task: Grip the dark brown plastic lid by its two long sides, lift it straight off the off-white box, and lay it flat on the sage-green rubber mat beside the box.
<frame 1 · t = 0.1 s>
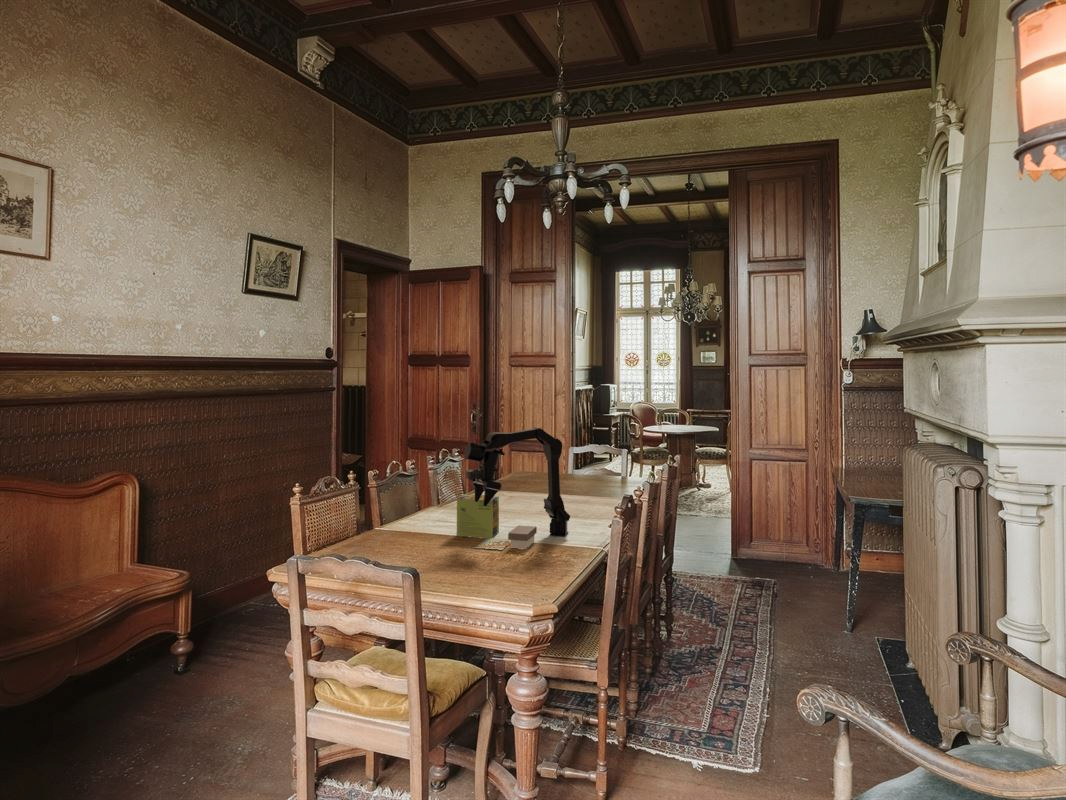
hand: (480, 503, 259), 15 cm above the table, tool pointing down, fingers open, 9 cm apart
protein box: (478, 535, 274), on the table
mat: (495, 544, 257), on the table
box: (522, 545, 257), on the table
lid: (522, 536, 256), point 3 cm above the table, touching box
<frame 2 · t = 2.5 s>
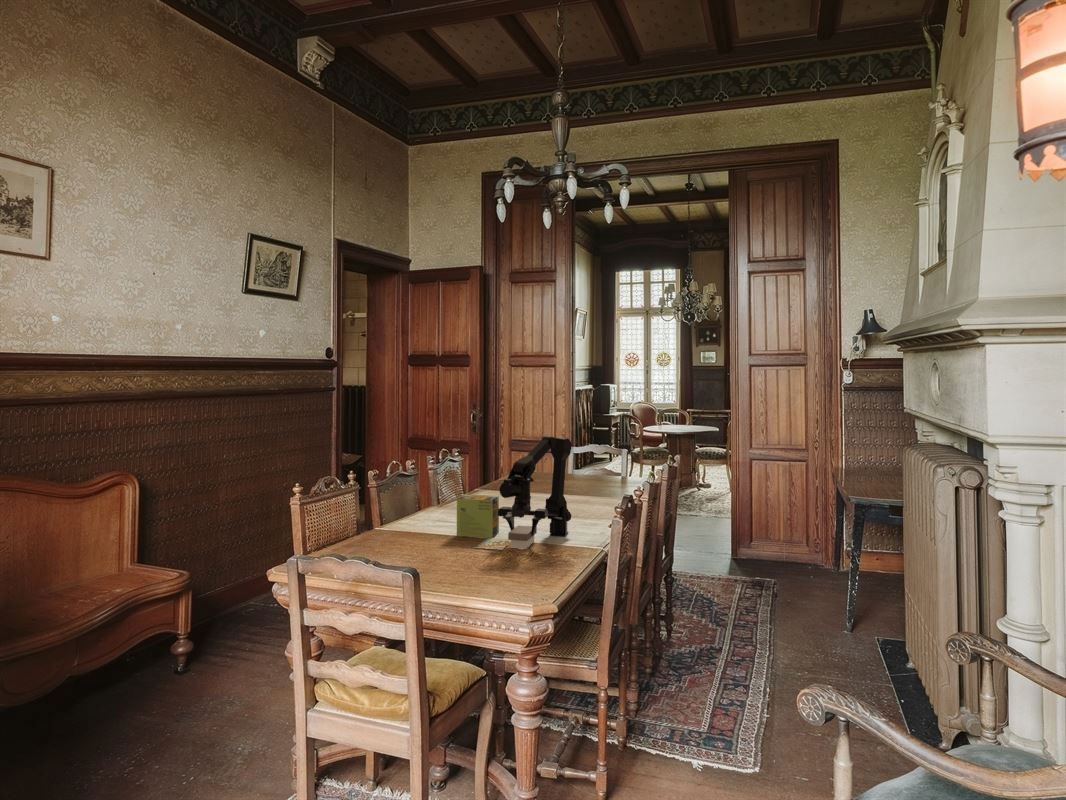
hand: (522, 534, 256), 4 cm above the table, tool pointing down, fingers closed on lid, 7 cm apart
lid: (522, 536, 256), point 3 cm above the table, touching box, gripper
everything else where it was.
when the fingers open (2 cm above the table, at t = 7.8 s): lid drops 2 cm, resting on mat.
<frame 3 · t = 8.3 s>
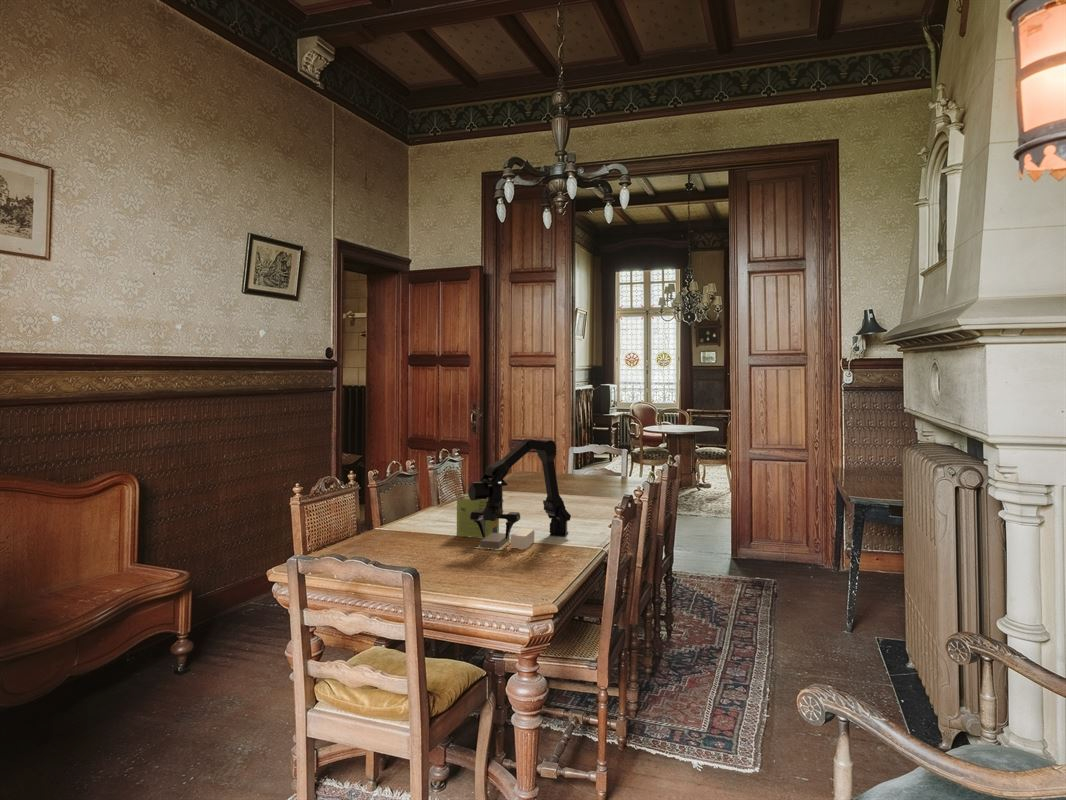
hand: (495, 538, 257), 2 cm above the table, tool pointing down, fingers open, 9 cm apart
lid: (495, 543, 257), resting on mat
everything else where it was.
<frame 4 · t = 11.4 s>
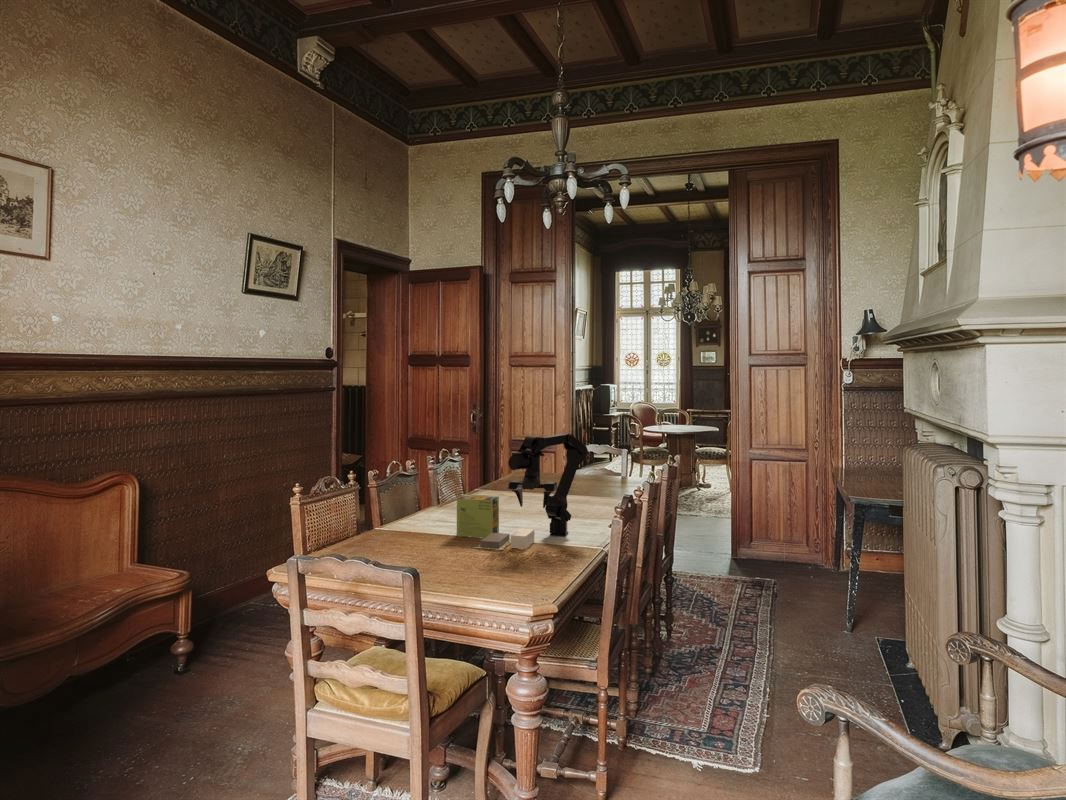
hand: (532, 507, 264), 13 cm above the table, tool pointing down, fingers open, 9 cm apart
nothing on the table moved.
at the end: lid inside the target area on the mat (0.0 cm from its centre), point 0.4 cm above the mat's base; lid tilted 0°; the gripper is holding nothing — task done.
